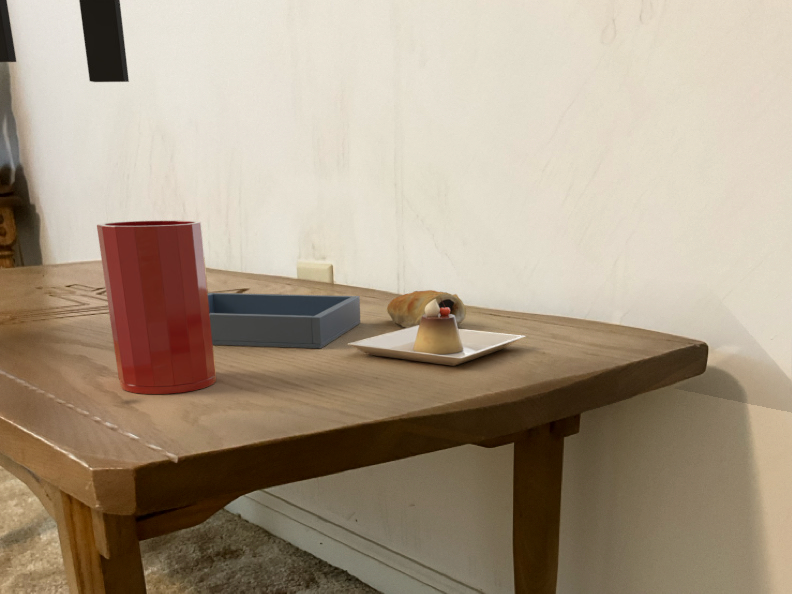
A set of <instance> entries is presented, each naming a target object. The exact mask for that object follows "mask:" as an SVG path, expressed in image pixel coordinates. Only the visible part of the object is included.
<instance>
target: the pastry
mask: <svg viewBox="0 0 792 594" xmlns="http://www.w3.org/2000/svg"><path fill="white" fill-rule="evenodd" d="M434 299H436V302H437V304H438V306H439V308H444V305H445V308H446V307H448V308H450V314H452V315H454V316H455V319H456V322H457V326H459V325H460V324H462V323H463V321H464V320H465V319H466V315H467V307H466V306H465V304H464V302H463V300H462V299H461V298H460V297H459V296H458V295H457V294H456V293H455V294H452V293H449V292H444V291H436V290H432V289H429V290H428V289H427V290H415V291H413V292H409V293H405V294H403V295H400V296H396V297H395V298H393V299H392V300H391V301H390V302H389V303H388V304H387V307H386V311H387V314H388V315H389V317H390V318H391V320H392V322H394V324H396V325H398V326H401V327H402V328H404V329H405V328H409V327H413V326H417V325H419V324H420V321H421V317H422V315H425V314H426V313H425V307H426V305H427V304H428V303H430V302H431V301H433V300H434ZM441 299H442V301H443V302H442V301H441ZM443 303H444V304H443Z"/></svg>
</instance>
